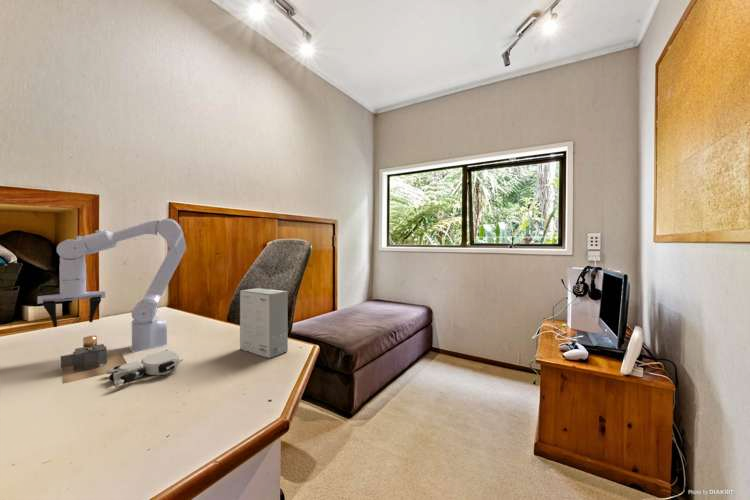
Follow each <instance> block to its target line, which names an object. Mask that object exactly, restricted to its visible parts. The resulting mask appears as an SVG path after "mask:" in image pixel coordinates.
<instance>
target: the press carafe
mask: <svg viewBox="0 0 750 500" xmlns="http://www.w3.org/2000/svg"><path fill="white" fill-rule="evenodd" d="M107 350H108V349H107V345H106V346H105V345H104V343H100V344H97V345H95V346H92V349H91V350H88V347H83V346H82V347H77V348H74V351H73V352H72V354H64V355H60V369H62V368H64V367H69V366H73V370H75V371H84V370H90V369H95V368H98V367H101V366H103V365H105V364H106V363H107V354H108V352H107Z"/></svg>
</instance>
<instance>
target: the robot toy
mask: <svg viewBox="0 0 750 500" xmlns="http://www.w3.org/2000/svg"><path fill="white" fill-rule="evenodd" d="M183 361H184V358H182V359H180V355H179V354H178V353H176V352H175V351H171V350H169V349H167V348H166V349H165V350H161V351H158V352H154V353H151V354H148V355H145V356H144V357H143V358H142V359H141V361H138V360H136V361H132V362H128V363H127V364H123V365H121V366H116V367H114V369H109V370H108V371H107V372H106V374H105V375H109V376H108V379H109V380H110V381H111V382H113V383H114V385H117V386H119V385H122V384H123V385H126V384H130V383H133V381H135V380H137V379H140V378H142V377H143V376H144V375H145V374H147V375H150V376H156V375H157V376H159V375H160V376H166V375H167V374H168V375H169V373H171V372H172V371H174V370H175V369H177V368H178V367H179V366H180V363H181V362H183Z"/></svg>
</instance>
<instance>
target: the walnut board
mask: <svg viewBox="0 0 750 500" xmlns="http://www.w3.org/2000/svg"><path fill="white" fill-rule="evenodd" d="M123 364H127V361H126V358H125V357H124V355H123V353H122V351H117V352H113V353H107V363H106V364H105V365H103V366H101V367H98V368H95V369H90V370H84V371H75V370H73V366H69V367H64V368H61V369H62V371H61V372H62V374H61V375H62V384H63V385H64V384H68V383H73V382H76V381H82V380H85V379H89V378H93V377H94V378H95V377H99V376H102V375H107V374H106V372H107V371H108V370H109V369H114V367H116V366H121V365H123Z"/></svg>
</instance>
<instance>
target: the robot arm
mask: <svg viewBox="0 0 750 500" xmlns="http://www.w3.org/2000/svg"><path fill="white" fill-rule="evenodd" d="M158 234H159V235H160V236H161V237H162V238H163V239H164V240H165V242H166V244H167V246H168V248H169V250H168V252H167V253H166V256H165V257H164V259H163V261H162V263H161V265H160V266H159V269H158V270H157V271H156V274H155V276H154V278H153V280H152V281H151V284H150V285H149V286H148V289H147V291H146V292H145V294H144V296H143V298H142V299H141V300H140V301H138V302H137V304H136V305H135V307H133V309H132V311H131V318H132V321H131V345H129V346H128V348H129V350H130V351H131V353H136V352H137V353H138V352H143V351H146V350H151V349H157V348H163V347H167V346H168V325H167V321H166V319H165V318H162V319H159V317H157V311H158V304H159V302H160V300H161V298H162V296H163V294H164V292H165V291H166V288H167V286H168V285H169V283H170V282H171V279H172V277H173V275H174V273H175V271H176V269H177V268H178V266H179V263H180V262H181V260H182V258H183V256H184V254H185V253H186V251H187V245H186V239H185V236H184V231H183V229H182V227H181V226H180V224H179V223H178V222H177V221H176V220H174V219H172V218H163V219H161V220H153V221H152V220H151V221H148V222H147V221H146V222H143V223H140V224H137V225H133V226H130V227H127V228H124V229H120V230H118V231H114V232H112V231H110V230H106V229H105V230H102V229H97V230H95V231H94V233H90V234H87V235H83V236H82V235H77V236H75V238H76V239H72V238H68V239H67V238H66V239H65V240H63V241H61V242H59V243H58V244H57V246H56V253H57V254H58V256H59V266H58V267H59V294H58V293H57V294H48V295H38V296H37V305H38V304H39V305H40V304H42V305H43V307H44V309H45V310H46V312H47V313H48V315H49V317H50V319H51V321H52V322H51V323H52V326H53V328H57V327H58V320H57V319H58V318H57V303H58V302H66V301H68V302H69V301H70V302H71V301H77V300H88V299H89V313H88V314H89V316H88V322H89V323H93V322H94V318H95V314H96V311H97V309H98V307H99V305H100V303H101V302H102V299H104V298H105V299H106V291H105V290H103V291H102V290H100V291H87V263H86V255H92V254H95V253H96V254H97V253H99V252H103V251H107V250H110V249H112V248H115V247H116V246H117V244H118V242H121V241H125V240H129V239H132V238H136V237H139V236H145V235H156V236H157V235H158Z"/></svg>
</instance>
